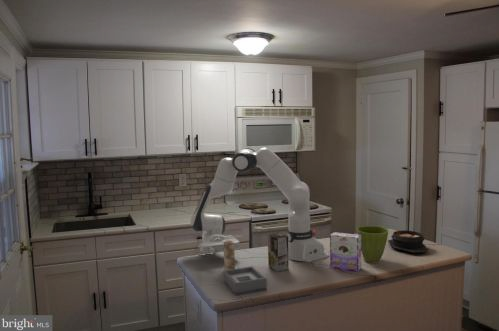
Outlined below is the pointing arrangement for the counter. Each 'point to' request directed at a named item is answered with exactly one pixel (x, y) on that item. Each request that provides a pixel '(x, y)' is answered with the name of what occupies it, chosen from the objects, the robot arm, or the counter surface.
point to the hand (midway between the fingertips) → (224, 250)
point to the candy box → (345, 251)
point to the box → (244, 280)
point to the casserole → (408, 241)
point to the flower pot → (372, 242)
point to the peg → (229, 255)
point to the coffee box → (278, 251)
